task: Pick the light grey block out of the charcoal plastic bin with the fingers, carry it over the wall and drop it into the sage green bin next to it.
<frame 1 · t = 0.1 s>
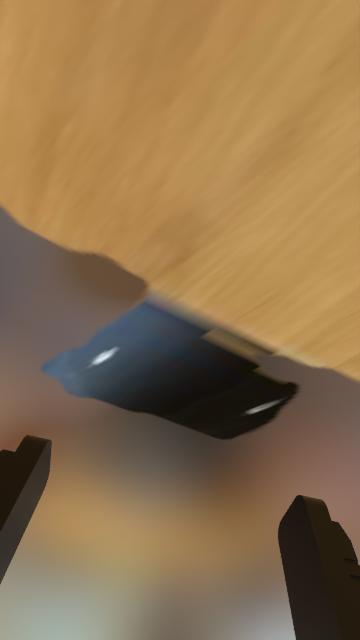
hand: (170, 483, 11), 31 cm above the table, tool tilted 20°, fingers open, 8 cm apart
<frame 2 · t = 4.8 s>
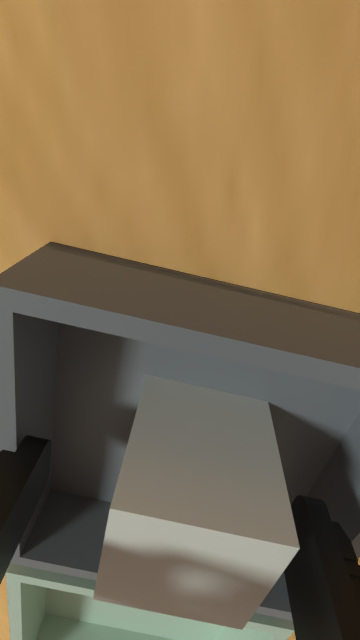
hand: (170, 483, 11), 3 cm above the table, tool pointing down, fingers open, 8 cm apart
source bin: (193, 420, 14), on the table
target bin: (143, 578, 20), on the table
light grey block: (193, 431, 13), point 1 cm above the table, touching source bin
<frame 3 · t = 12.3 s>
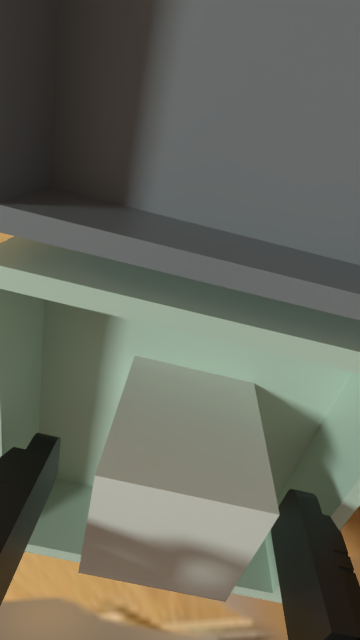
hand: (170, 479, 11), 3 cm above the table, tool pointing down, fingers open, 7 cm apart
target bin: (178, 405, 14), on the table
light grey block: (180, 413, 13), point 1 cm above the table, touching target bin
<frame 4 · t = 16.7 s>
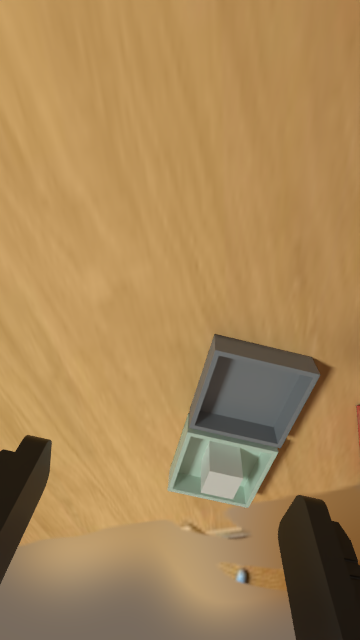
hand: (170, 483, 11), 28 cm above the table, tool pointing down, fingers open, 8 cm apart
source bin: (247, 384, 44), on the table
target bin: (219, 451, 50), on the table
light grey block: (220, 454, 49), point 1 cm above the table, touching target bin
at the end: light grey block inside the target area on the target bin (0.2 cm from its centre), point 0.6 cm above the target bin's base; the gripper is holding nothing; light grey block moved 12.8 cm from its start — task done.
